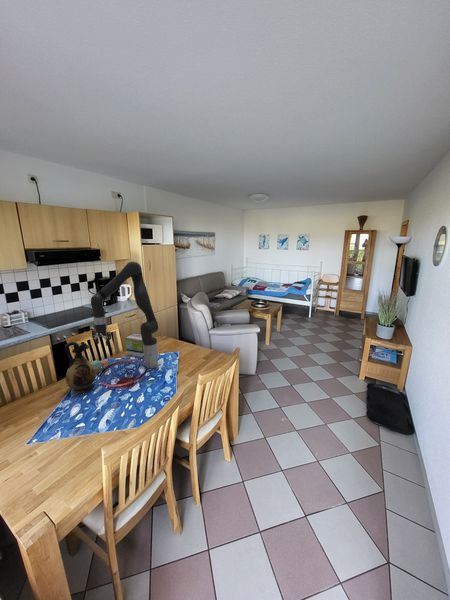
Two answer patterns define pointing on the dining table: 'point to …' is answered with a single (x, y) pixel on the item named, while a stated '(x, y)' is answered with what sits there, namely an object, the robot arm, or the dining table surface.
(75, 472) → the dining table surface
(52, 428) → the dining table surface
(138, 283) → the robot arm
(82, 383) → the ceramic jug
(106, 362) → the terracotta cube
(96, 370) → the walnut base block
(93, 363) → the teal middle block
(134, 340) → the tea box
